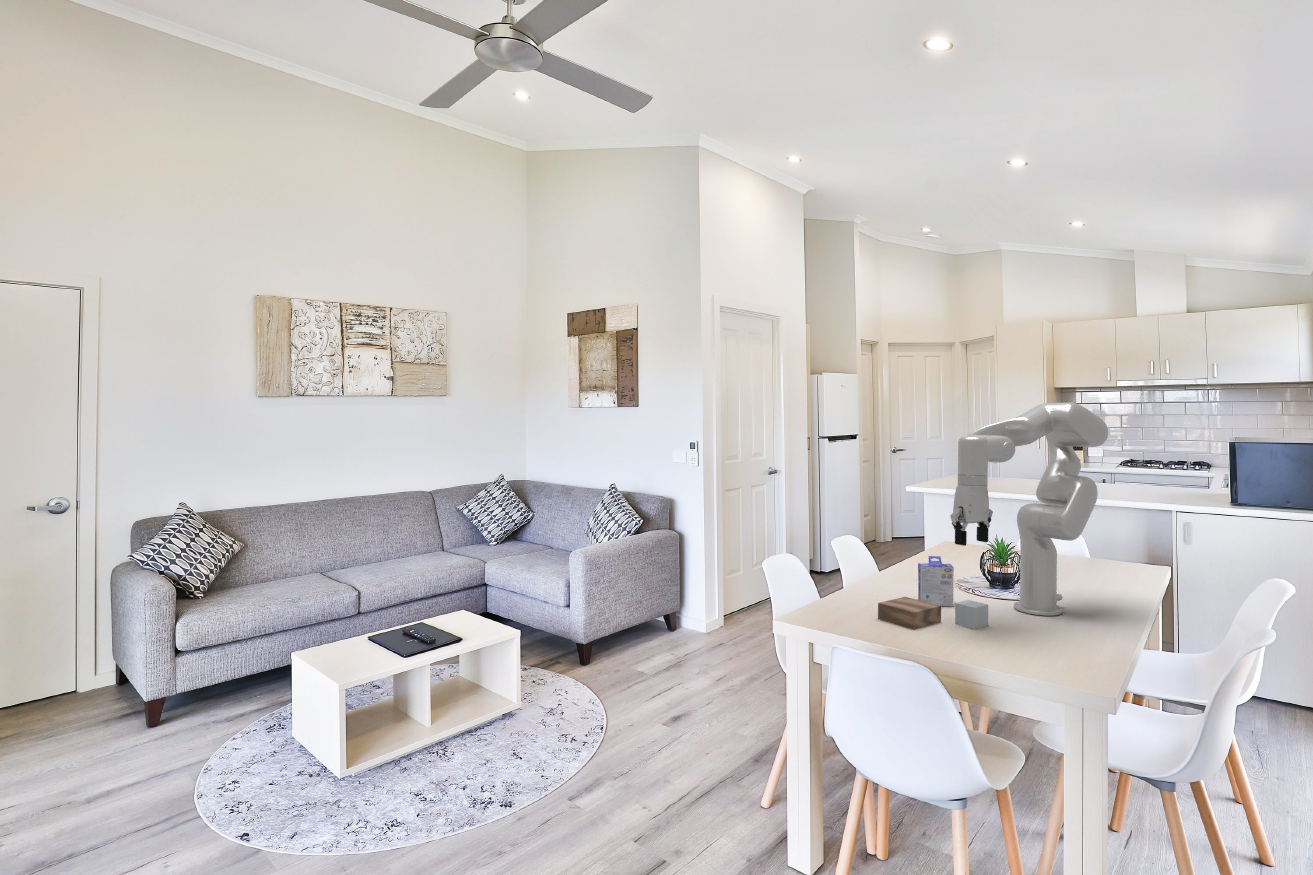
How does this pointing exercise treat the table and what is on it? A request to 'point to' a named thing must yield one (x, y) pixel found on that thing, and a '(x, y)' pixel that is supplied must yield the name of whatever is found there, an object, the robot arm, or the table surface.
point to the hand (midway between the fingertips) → (971, 543)
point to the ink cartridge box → (935, 582)
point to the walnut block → (909, 612)
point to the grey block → (971, 614)
